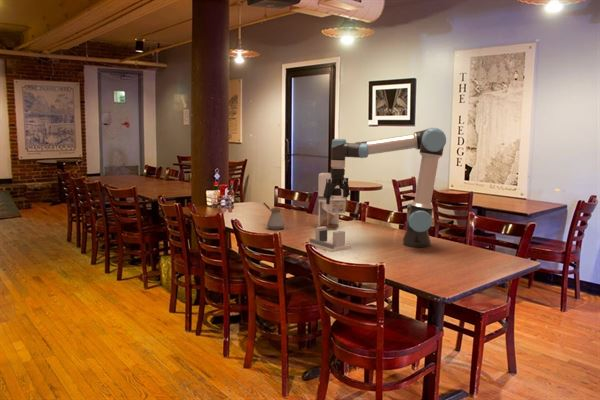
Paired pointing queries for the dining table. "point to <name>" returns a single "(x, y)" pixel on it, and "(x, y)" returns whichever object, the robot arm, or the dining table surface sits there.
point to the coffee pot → (275, 219)
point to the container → (337, 202)
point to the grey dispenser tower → (325, 206)
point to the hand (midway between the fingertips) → (336, 209)
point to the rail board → (328, 244)
